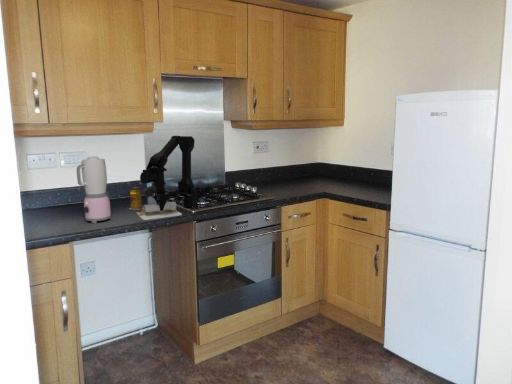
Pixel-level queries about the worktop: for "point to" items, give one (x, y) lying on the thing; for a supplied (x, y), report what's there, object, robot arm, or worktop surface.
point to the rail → (156, 207)
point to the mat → (160, 215)
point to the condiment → (135, 198)
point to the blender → (94, 189)
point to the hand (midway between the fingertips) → (160, 210)
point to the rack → (153, 211)
